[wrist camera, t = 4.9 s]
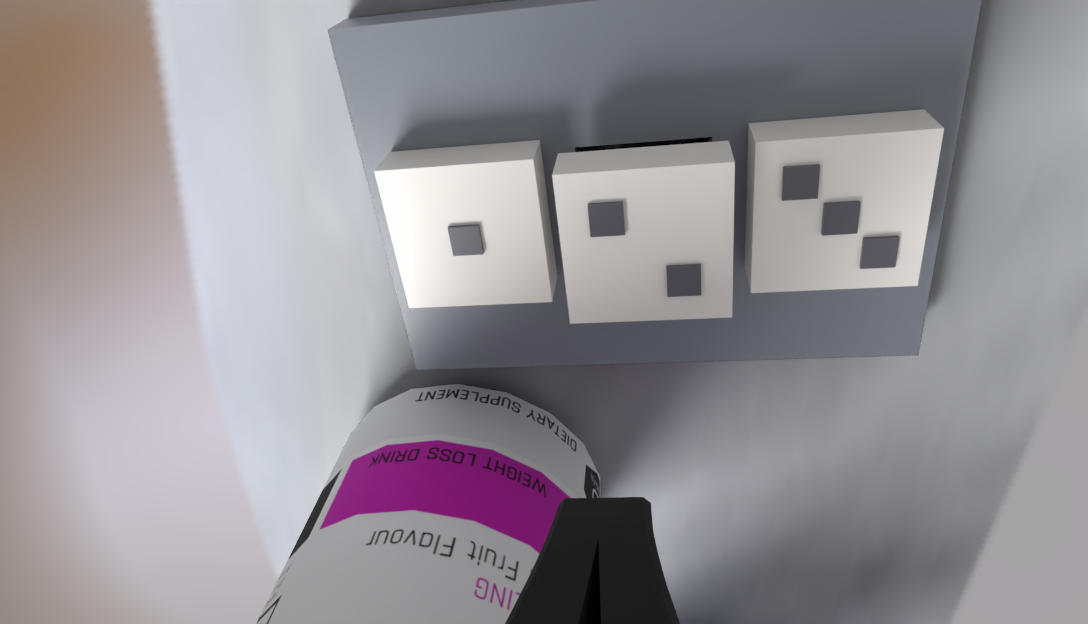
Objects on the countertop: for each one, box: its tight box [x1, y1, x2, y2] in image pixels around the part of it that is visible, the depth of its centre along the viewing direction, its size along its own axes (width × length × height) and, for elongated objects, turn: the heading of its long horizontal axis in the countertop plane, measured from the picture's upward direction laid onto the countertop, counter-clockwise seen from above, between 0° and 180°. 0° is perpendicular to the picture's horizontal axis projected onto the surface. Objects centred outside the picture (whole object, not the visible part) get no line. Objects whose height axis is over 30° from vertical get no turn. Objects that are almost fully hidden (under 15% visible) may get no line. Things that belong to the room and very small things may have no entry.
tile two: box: [552, 141, 735, 324], centre depth 16 cm, size 4×4×2 cm
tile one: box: [374, 140, 557, 308], centre depth 18 cm, size 4×4×2 cm
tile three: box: [745, 109, 944, 293], centre depth 16 cm, size 4×4×2 cm
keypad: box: [328, 0, 982, 370], centre depth 17 cm, size 9×13×1 cm
